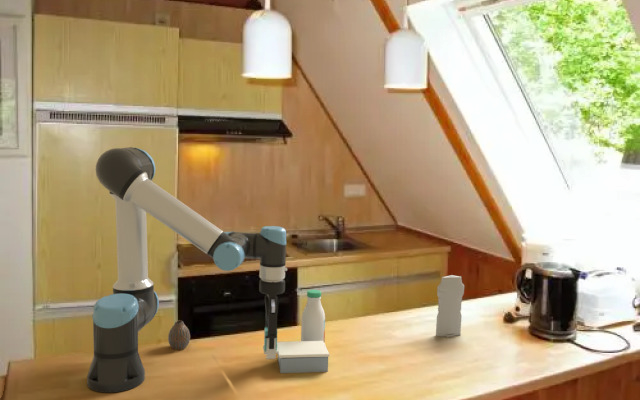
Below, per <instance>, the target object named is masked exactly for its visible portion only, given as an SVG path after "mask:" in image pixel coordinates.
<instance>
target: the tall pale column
mask: <svg viewBox="0 0 640 400" xmlns="http://www.w3.org/2000/svg"><path fill="white" fill-rule="evenodd" d="M439 282H440V283H439V284H438V285H437V291H436V293H437V294H436V296H437V297H438V298H437V301H438V305H437V306H438V307H437V315H436V324H435V325H436V329H435V336H436V337H438V336H439V337H442V338H444V337H445V338H446V337H447V338H452V337H453V338H454V337H456V336H461V334H462V333H461V331H462V330H461V329H462V312H461V311H462V301H463V296H464V295H465V284H464V283H463V280H462V276H461V275H460V276H459V275H453V274H451V275H447V276H442V277H441V280H440V281H439Z"/></svg>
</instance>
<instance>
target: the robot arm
mask: <svg viewBox="0 0 640 400" xmlns="http://www.w3.org/2000/svg"><path fill="white" fill-rule="evenodd" d="M95 174H96V177H97V179H98V181H99V183H100V184H101V185H102V186H103V187H104V188H105V189H106V190H108V192H109V196H111V197H112V198H113V200H115V202H114V203H115V225H116V226H115V228H116V231H115V232H116V257H117V258H116V260H117V261H116V262H117V280H116V281H115V282H114V284H113V285H112V294H109V295H108V296H107V295H105V296H103V297H101V298H99V299H98V300H97V301H96V302H95V303H94V305H93V311H92V317H91V318H92V329H93V330H92V331H93V332H92V333H93V334H92V335H93V339H92V340H93V358H92V360H91V364H90V366H89V371H88V373H87V376H86V377H87V379H86V380H87V381H86V383H87V384H86V385H87V387H88V388H89V389H90V390H92V391H94V392H99V393H119V392H125V391H128V390H132V389H134V388H136V387H138V386H140V385H141V384H142V383H144V381H145V378H146V376H145V374H146V372H145V371H146V370H145V367H144V365H143V361H142V359H141V356H140V353H139V332H140V331H141V330H142V329H143V328H144V327H145V326H147V325H148V324H149V323H150V322H151V321H152V320H153V319H154V318H155V316H156V314H157V313H158V310H159V307H160V306H159V304H160V299H159V297H158V294H157V292H156V291H155V288H154V285H155V284H154V281H153V280H151V278H149V263H148V261H149V259H148V257H149V256H148V229H147V228H148V227H147V226H148V225H147V223H148V220H147V214H149V216H151V217H153V218H155V219H156V220H157V221H158V222H160V223H161V224H163V225H165V226H166V227H167V228H169V229H170V230H172V231H173V232H175V233H176V234H177V235H178V236H180V237H182V238H183V239H184V240H186V241H187V242H189V243H191V244H192V245H193V246H194V247H196V248H197V249H199V250H201V251H202V252H203V253H204V254H206V255H207V256H209V257H210V258H212V260H213V262H214V264H215V266H216V267H217V268H218V269H220V270H222V271H225V272H230V271H233V270H236V269H237V268H238V267H240V266H241V265H242V264H243V262H244V260H245V259H253V260H254V259H255V260H256V259H259V278H260V280H259V286H258V289H259V290H258V291H259V292H260V293H261V294H264V295H265V296H264V303H265V304H264V305H265V306H264V307H265V309H264V310H265V323H264V325H265V327H268V335H267V336H265V338H267V347H266V354H265V357H266V360H276V359H277V358H276V357H277V356H276V355H277V354H276V338H277V339H278V314H279V304H280V299H279V297H278V296H277V295H282V294H283V293H285V290H286V280H285V278H286V272H287V271H288V267H286V260H287V259H286V258H287V243H288V242H287V231H286V229H285V228H284V227H283V226H277V225H270V226H269V225H266V226H263V227H261V229H260V231H259V232H240V231H239V232H238V231H237V232H236V231H224V230H222V229H220V228H219V227H218V226H216V225H215V224H213V222H210V221H209V220H207V219H206V218H205V217H203V216H202V215H201V214H200V213H198V212H196V211H195V210H193V208H192V207H189V206H188V205H187V204H185V203H183V202H182V201H181V200H180V199H178V198H177V197H175V196H174V195H172V194H171V193H169V191H166V190H165V189H164V188H162V187H161V186H159V185H158V184H157V183H155V182H153V181H152V180H153V179H154V176H155V175H156V164H155V161H154V158H153V157H152V156H151V154H149V153H148V152H147V151H146V150H144V149H143V148H142V149H141V148H139V147H132V146H130V147H122V148H120V147H117V148H111V149H108V150H105V152H103V153H102V154H101V155H100V156H99V157H98V159H97V162H96V165H95Z"/></svg>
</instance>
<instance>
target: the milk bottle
mask: <svg viewBox="0 0 640 400" xmlns="http://www.w3.org/2000/svg"><path fill="white" fill-rule="evenodd" d="M306 298H307V300H306V301H307V302H306V305H305V307H304V308H303V309H302V314H301V327H300V335H301V336H300V341H324V343H325V342H326V341H325V340H326V335H325V334H326V314H325V310H324V308H323V305H322V302H321V299H322V291H321V290H318V289H309V290H307V291H306ZM325 344H326V343H325Z"/></svg>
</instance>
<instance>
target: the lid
mask: <svg viewBox="0 0 640 400" xmlns="http://www.w3.org/2000/svg"><path fill="white" fill-rule="evenodd" d="M263 335H264V336H263V339H264V340H263V342H264V343H263V346H262V349H263V355H266V347H267V338H265V336H267V335H268V327H266V326H264V333H263ZM276 355H277V356H278V355H279V358H294V357H328V358H329V357H330V352H329V351H328V348H327V346H326V343H324V341H301V340H297V341H295V340H294V341H293V340H292V341H278V337H277V338H276Z"/></svg>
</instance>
